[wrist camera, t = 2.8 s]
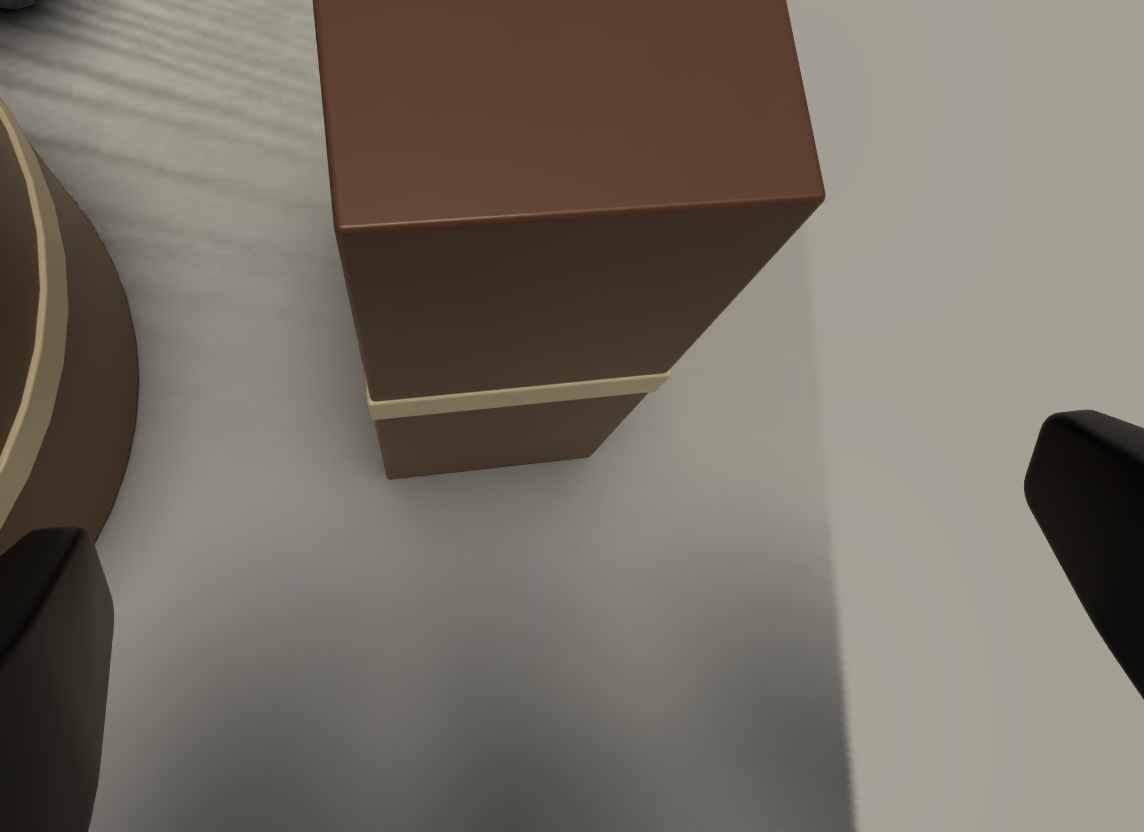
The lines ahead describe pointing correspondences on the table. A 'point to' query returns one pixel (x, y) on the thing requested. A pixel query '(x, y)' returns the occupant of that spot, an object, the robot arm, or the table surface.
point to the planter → (16, 3)
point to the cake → (58, 354)
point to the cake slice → (550, 205)
